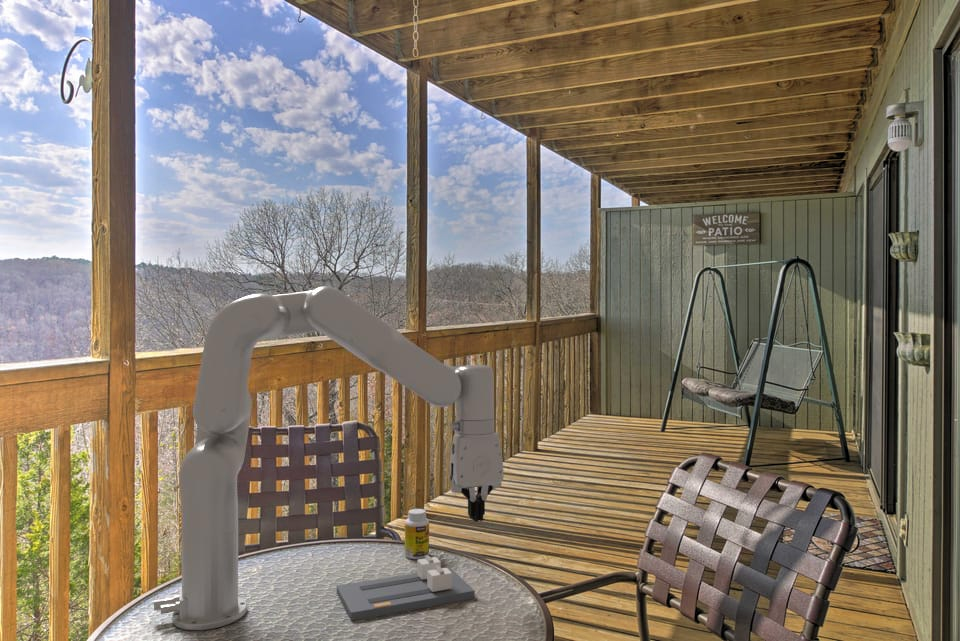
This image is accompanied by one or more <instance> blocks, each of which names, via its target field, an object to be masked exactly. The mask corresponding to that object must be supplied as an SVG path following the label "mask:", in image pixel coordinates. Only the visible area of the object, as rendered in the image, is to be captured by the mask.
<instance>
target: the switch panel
mask: <svg viewBox="0 0 960 641" xmlns="http://www.w3.org/2000/svg"><path fill="white" fill-rule="evenodd" d="M446 568H447V569H448V570H449V571H450V572H451V573H452V589H446V590H440V591H435V592H432V591H431V590H430V589H429V587H428V586H427V579H423V580H422V579H421V578H420V577H419V576H418V575H417V572H414V573H408V574H402V575H401V574H400V575H395V576H389V577H384V578H376V579H371V580H369V579H368V580H364V581H359V582H353V583H345V584H340V585H336V595H337V594H338V595H337V597H338V596H339V597H338V598H340V599H339V601H340V600H341V601H340V602H342V603H341V604H343V605H342V607H343V606H344V607H343V608H344V610H345V612H346V614H347V616H348V618H349V620H350V622H354V621H359V620H363V619H370V618H376V617H382V616H387V615H392V614H395V613H396V614H397V613H402V612H409V611H414V610H419V609H425V608H430V607H435V606H440V605H441V606H442V605H446V604H447V605H448V604H451V603H457V602H458V603H459V602H463V601H467V600H468V601H469V600H473V599H475V593H476V592H475V590H474V589H473V587H471V586H470V585H469V584H468V583H467V582H466V581H465V580H464V579H463V578H462V577H461V576H460V575H459V574H458V573H457V572H456V571H455V570H454V569H453V568H452V567H446Z"/></svg>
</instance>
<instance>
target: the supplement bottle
mask: <svg viewBox="0 0 960 641" xmlns="http://www.w3.org/2000/svg"><path fill="white" fill-rule="evenodd" d="M407 516H408V517H407V518H406V519H405V521H404V556H405V557H406V558H407V559H410V560H419V559H425V556H426V555H429V554H430V519H428V518H427V511H426V510H425V509H424V508H413V509H409V510H408V514H407Z"/></svg>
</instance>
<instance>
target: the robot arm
mask: <svg viewBox="0 0 960 641" xmlns="http://www.w3.org/2000/svg"><path fill="white" fill-rule="evenodd" d="M316 332H320V333H321V334H322V335H324V336H326V337H327V338H329V339H331V340H332V341H333V342H334V343H336V344H338V345H339V346H341V347H343V348H344V349H345V350H347V351H348V352H350V353H351V354H353V355H354V356H356V357H357V358H358V359H359V360H361V361H363V362H364V363H366V364H367V365H369V366H370V367H372V368H373V369H376V370H377V371H380V372H381V373H383V374H385V375H387V377H390V378H392V379H393V380H395V381H396V382H397V383H399V384H401V385H402V386H404V387H405V388H406V389H408V390H409V391H411V392H412V393H414V394H415V395H417V396H418V397H420V398H422V400H425V402H427V403H429V404H430V405H432V406H434V407H437V408H446V407H449V406H451V405H453V404H455V402H456V407H455V408H456V411H455V413H456V416H455V417H456V418H455V421H454V422H452V423H450V424H449V430H450V431H455V432H456V433H455V434H454V435H453V437H452V443H451V448H450V456H449V457H450V459H449V481H450V487H449V490H450V492H452V493H453V494H461V495H462V496H464V497H465V498H466V499H467V515H468V516H469V518H470V519H471V520H472V521H474V522H475V523H477V522H483V521H484V515H485V513H486V511H485V510H486V505H485V504H486V502H485V501H486V500H487V498H488V495H490V494H491V492H492V491H493V490H495V489H499V488H501V487H502V483H503V481H504V462H503V460H504V459H503V452H502V451H503V450H502V443H501V440H500V435H499V433H498V432H495V391H494V390H495V387H494V385H495V382H494V381H495V378H494V370H493V368H492V367H491V366H489V365H486V364H485V365H484V364H465V365H461V366H456V365H453V366H452V365H445V364H444V363H443V362H442V361H440V360H438V359H437V358H435V357H434V356H433V355H431V354H429V352H427V351H425V350H424V349H423V348H421V347H419V346H418V345H417V344H415V343H414V342H412V341H411V340H410V339H408V338H407V337H405V336H404V335H403V334H402V332H400V331H398V330H397V329H396V328H395V327H393V326H391V325H390V324H389V323H388V322H386V321H385V320H383V319H381V318H380V317H379V316H377V314H374V313H373V312H371V311H369V310H368V309H367V308H365V307H364V306H363V305H361V304H359V303H358V302H357V301H356V300H354V299H353V298H351V296H348V295H347V294H345V293H343V292H342V291H341V290H339V289H338V288H336V287H332V286H329V285H323V286H319V287H316V288H314V289H312V290H311V289H310V290H307V291H298V292H291V293H282V294H273V295H272V294H269V293H261V292H260V293H254V294H253V293H252V294H250V295H246V296H243V297H241V298H238V299H235V300H234V301H231V302H230V303H228V304H226V305H225V306H224V307H223V308H222V309H221V310H220V311H219V312H218V313H216V315H215V316H214V317H213V320H212V321H211V323H210V325H209V327H208V330H207V332H206V336H205V339H204V346H203V350H202V357H201V362H200V367H199V371H198V377H197V378H198V379H197V384H196V390H195V396H194V400H193V405H192V416H193V420H194V422H195V424H196V426H197V430H196V436H195V443H194V446H193V447H192V448H191V449H190V450H189V451H187V453H186V455H185V456H184V458H183V460H182V461H181V465H180V468H179V471H178V472H179V474H178V486H179V495H180V508H181V510H180V511H181V512H180V513H181V588H179V593H178V594H173V597H167V598H165V597H163V598H155V599H153V612H156V611H160V615H164V614H169V613H172V615H171V619H172V620H171V621H172V624H173V625H174V626H175V627H177V628H180V629H182V630H187V631H204V630H205V631H206V630H212V629H216V628H217V629H218V628H221V627H224V626H226V625H230V624H233V623H235V622H236V621H238V620H240V619H241V618H242V617H243V616H244V615H245V614H246V613H247V611H248V602H247V600H245V599H244V598H242V597H241V596H239V501H238V500H239V499H238V475H239V474H240V471H241V469H242V467H243V464H244V463H245V462H244V461H245V457H246V450H247V444H248V443H247V442H248V437H249V436H248V435H249V429H250V421H251V416H252V408H253V400H252V396H251V392H250V391H249V388H248V381H249V375H250V371H251V367H252V366H251V365H252V357H253V356H252V355H253V350H254V349H255V347H256V345H257V344H258V343H259V342H260V341H263V340H270V339H274V338H275V339H276V338H281V337H288V336H296V335H302V334H303V335H304V334H311V333H316Z"/></svg>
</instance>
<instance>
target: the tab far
mask: <svg viewBox="0 0 960 641" xmlns="http://www.w3.org/2000/svg"><path fill="white" fill-rule="evenodd" d="M416 560H417V561H416V562H417V563H416V567H417V568H416V569H417V571H416V573H417V575H418V576H419V577H420V578H421V579H422V580H423V579H427V571H429V570H435V566H440V567H441V568H442V563H441V562H442V561H441V560H440V559H439V558H437V557H436V556H433V557H431V556H429V554H428V555H426V556H425V558H422V559H416Z"/></svg>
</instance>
